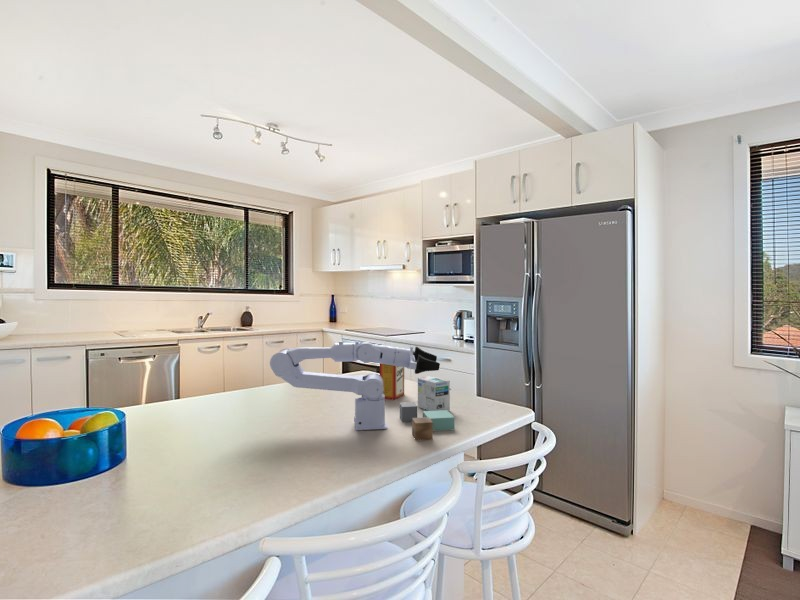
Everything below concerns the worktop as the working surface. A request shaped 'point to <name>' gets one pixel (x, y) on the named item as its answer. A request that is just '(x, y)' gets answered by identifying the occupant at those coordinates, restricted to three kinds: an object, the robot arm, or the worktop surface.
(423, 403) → the light bulb box
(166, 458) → the worktop surface
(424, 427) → the walnut cube
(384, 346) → the robot arm
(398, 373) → the baking soda box
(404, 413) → the slate cube
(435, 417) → the teal base block
